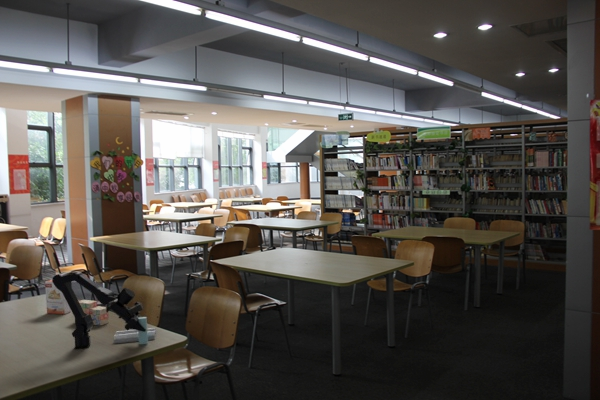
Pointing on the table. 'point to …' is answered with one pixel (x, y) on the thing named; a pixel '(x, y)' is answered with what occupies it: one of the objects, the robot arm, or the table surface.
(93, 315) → the stack of blocks
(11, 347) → the table surface
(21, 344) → the table surface
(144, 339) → the pale teal block
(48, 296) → the cracker box
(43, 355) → the table surface
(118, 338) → the floor track
